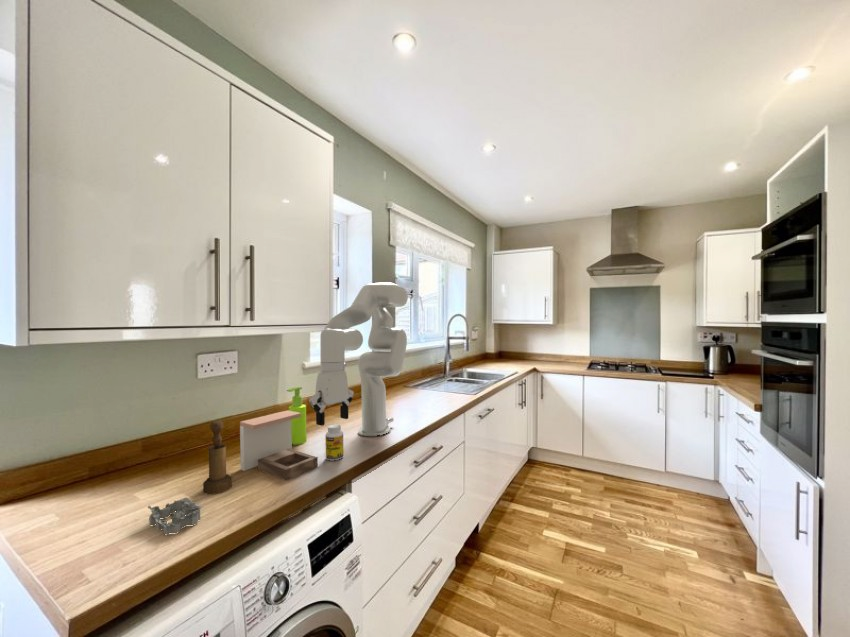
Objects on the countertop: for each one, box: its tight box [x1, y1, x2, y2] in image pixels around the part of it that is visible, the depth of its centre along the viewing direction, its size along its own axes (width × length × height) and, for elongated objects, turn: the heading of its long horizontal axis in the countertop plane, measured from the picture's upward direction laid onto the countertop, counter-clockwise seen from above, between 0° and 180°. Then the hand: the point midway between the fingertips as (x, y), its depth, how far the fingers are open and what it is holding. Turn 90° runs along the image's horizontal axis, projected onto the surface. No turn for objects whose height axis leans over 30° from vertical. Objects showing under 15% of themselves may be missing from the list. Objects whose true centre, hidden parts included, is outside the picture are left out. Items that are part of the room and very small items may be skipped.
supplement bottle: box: [324, 424, 345, 462], centre depth 114 cm, size 6×6×10 cm
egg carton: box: [147, 497, 202, 535], centre depth 78 cm, size 11×8×4 cm
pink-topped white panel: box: [239, 409, 301, 472], centre depth 111 cm, size 16×8×14 cm, turn 145°
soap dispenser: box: [286, 386, 307, 446], centre depth 130 cm, size 6×7×20 cm
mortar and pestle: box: [202, 419, 233, 495], centre depth 94 cm, size 7×6×18 cm
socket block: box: [257, 449, 319, 481], centre depth 106 cm, size 11×14×3 cm
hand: (332, 421), depth 113 cm, fingers open, 9 cm apart
